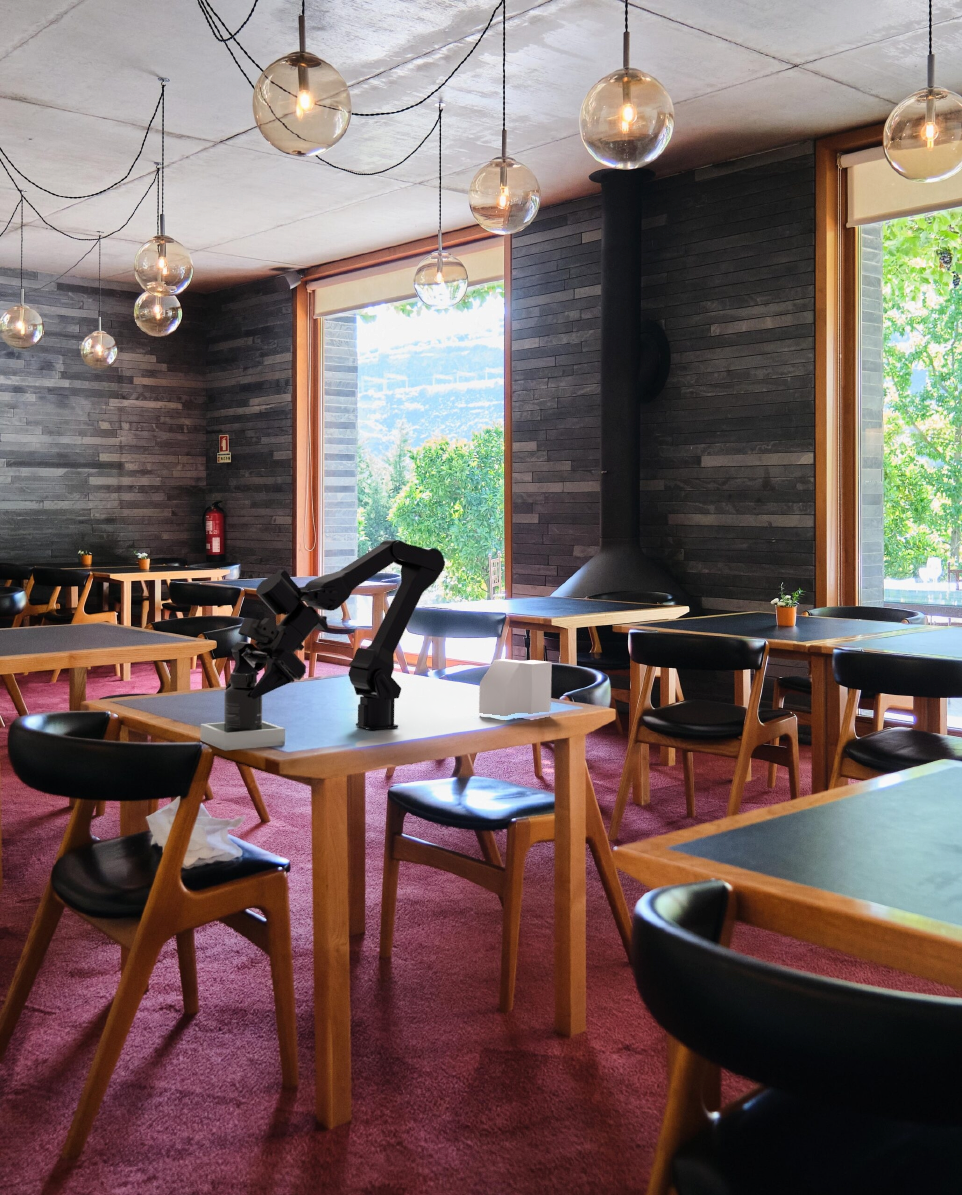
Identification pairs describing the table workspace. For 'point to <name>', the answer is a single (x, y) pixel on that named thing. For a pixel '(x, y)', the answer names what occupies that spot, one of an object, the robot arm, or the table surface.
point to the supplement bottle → (242, 704)
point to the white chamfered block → (516, 687)
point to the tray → (242, 736)
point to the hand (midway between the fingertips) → (239, 694)
